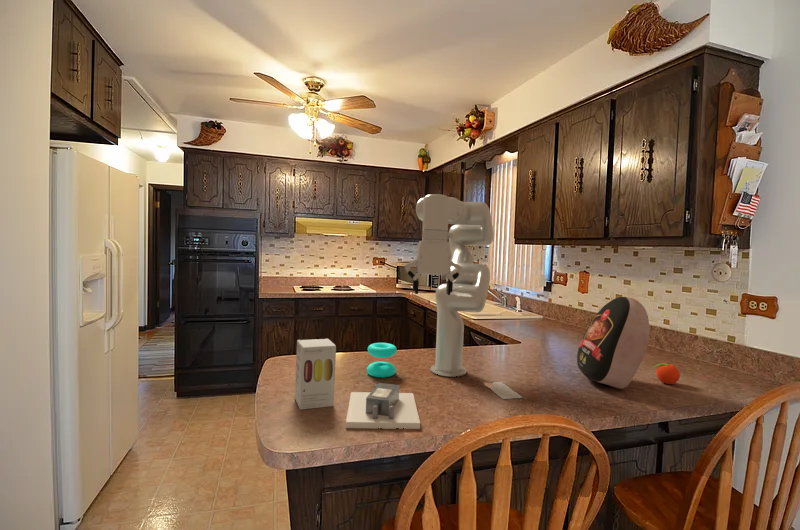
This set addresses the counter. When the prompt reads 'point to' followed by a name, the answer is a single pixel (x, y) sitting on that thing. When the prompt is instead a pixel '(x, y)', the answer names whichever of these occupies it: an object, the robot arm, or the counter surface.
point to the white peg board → (398, 416)
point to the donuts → (381, 367)
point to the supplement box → (315, 373)
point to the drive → (382, 398)
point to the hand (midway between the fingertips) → (432, 293)
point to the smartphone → (505, 391)
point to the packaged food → (615, 343)
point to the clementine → (667, 373)
